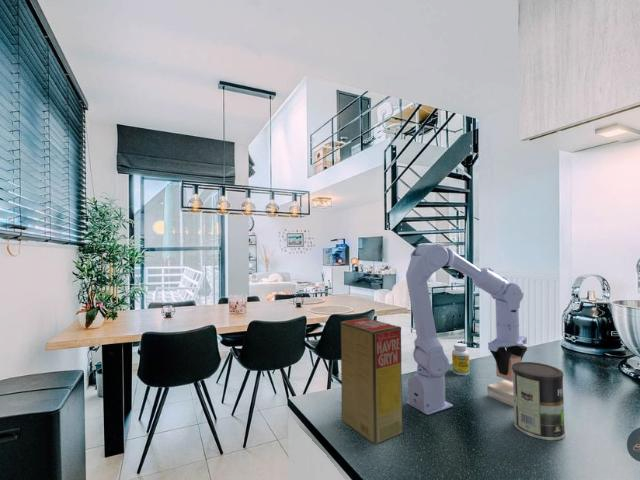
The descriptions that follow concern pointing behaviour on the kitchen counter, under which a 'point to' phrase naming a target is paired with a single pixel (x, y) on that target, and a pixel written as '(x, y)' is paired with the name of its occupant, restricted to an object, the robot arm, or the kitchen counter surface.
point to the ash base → (502, 392)
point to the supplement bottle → (460, 359)
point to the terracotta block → (509, 368)
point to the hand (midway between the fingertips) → (508, 372)
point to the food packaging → (371, 378)
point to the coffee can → (538, 400)
